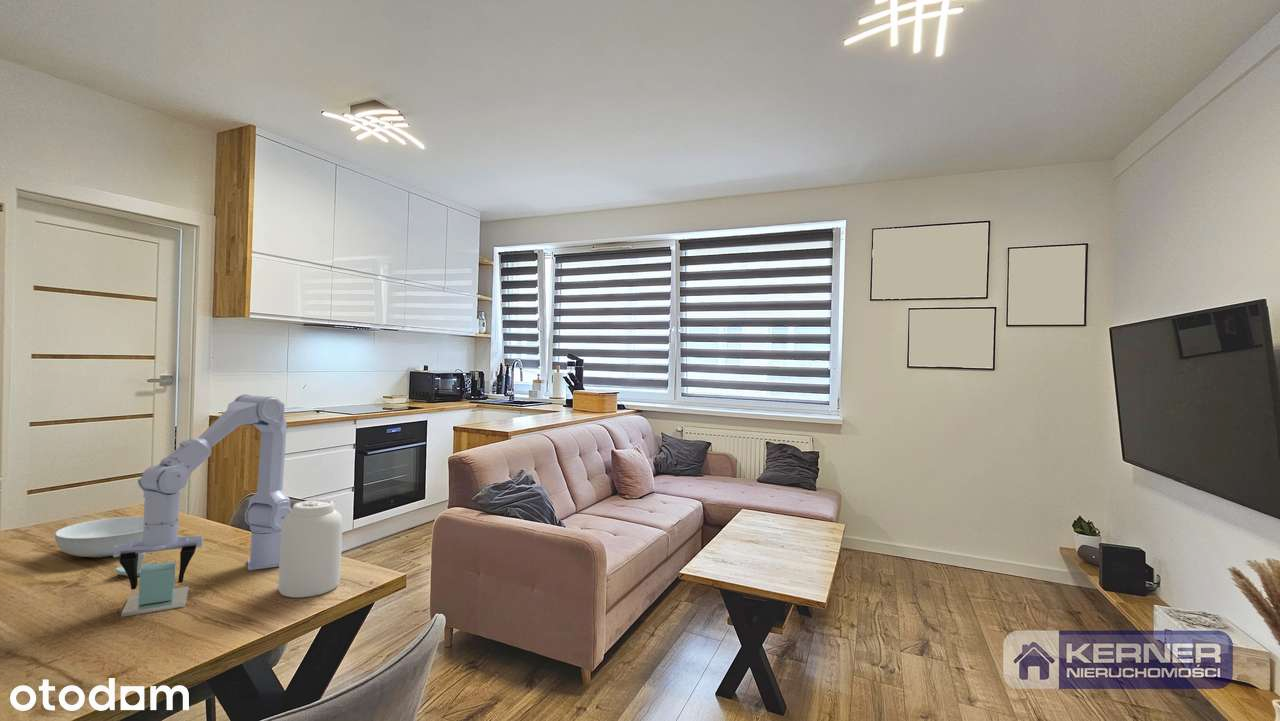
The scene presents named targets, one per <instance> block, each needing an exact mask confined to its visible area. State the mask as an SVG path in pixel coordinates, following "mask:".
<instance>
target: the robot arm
mask: <svg viewBox="0 0 1280 721" xmlns="http://www.w3.org/2000/svg"><path fill="white" fill-rule="evenodd" d="M251 424H252V426H254V427H255V428H256V429H258V430H259V431H260V444H259V445H260V446H259V456H258V457H259V460H258V473H257V475H258V476H257V484H256V486H257V488H256V493H254V494H253V495H252V496H251V497H250V498H249V500H248V506H247V508H246V510H245V513H244V521H245V523H246V524H247V525H249V530H251V531H250V532H251V533H250V554H249V558H248V560H247V571H256V570H263V569H269V568H277V567H279V563H280V543H281V526H282V524H283V521H284V519H285V518H286V517H287V516H288V515H289V514H290V513H292V507H291V499H290V497H289V496H288V495H287V494H286V493H285V492H284V491H283V489H284V488H283V486H284V485H283V484H284V471H285V456H286V443H287V442H286V440H287V428H288V427H287V426H288V423H287V419H286V417H285V403H283V402H282V401H281V400H280V399H279V398H277V397H276V396H272V395H271V396H269V395H268V396H263V395H262V396H261V395H250V394H241V395H238V396H237V397H236V398H235V399H234V400H232V401H231V402H230V403H228V405H227V409H226V410H225V411H224V412H223V413H222V414H221V415H220V416H219V417H218V418H216V420H215V421H214V422H213V423H212V424H211V425H209V427H207V429H206V430H205V431H203V432H202V434H201V435H200V436H198V437H197V438H188V439H186V440H182V441H181V442H180V443H178V447H177V448H176V449H175V450H173V451H172V453H170V454H169V455H167V457H164V458H162V459H161V460H160V462H159V464H154V465H151V466H149V467H147V468H146V469H145V470H144V471H143V473H142V474H141V475H140V478H138V479H137V484H138V487H139V488H140V489H141V490H142V491H143V498H144V501H143V502H144V506H143V517H144V521H143V541H140V542H134V543H129V544H122V545H116V546H115V547H114V551H113V556H112V558H117V557H119V564H120V565H121V567H123V568H124V570H125V571H126V573H127V575H128V577H127V578H128V580H129V583H130V584H129V585H130V590H132V591H133V590H136V589H137V587H138V576H137V564H138V554H139V553H145V554H146V553H152V552H153V553H155V552H163V551H168V550H170V551H171V550H178V549H180V554H179V559H180V560H179V574H178V579H177V580H178V582H177V583H178V584H180V583H184V578H185V573H186V570H187V568H188V565H189V564H190V561H191V560H192V557H193V556H194V554H195V552H196V549H197V548H202V547H203V542H204V541H203V538H204V536H203V535H201V536H200V535H198V536H178V530H179V510H180V506H179V505H180V491H181V490H182V489H184V488H185V487H186V485H187V483H188V479H189V477H190V476H191V475H192V473H193V472H194V471H195V470H196V469H198V467H200V465H202V464H203V463H204V462H206V460H207V459H209V457H211V454H212V448H213V447H214V446H216V444H218V443H219V442H220V441H221V440H223V439H224V438H226V437H227V436H228V435H229V434H231V433H232V432H233V431H234V430H236V429H237V428H238V427H240V426H242V425H243V426H245V425H251Z"/></svg>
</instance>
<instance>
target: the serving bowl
mask: <svg viewBox="0 0 1280 721" xmlns="http://www.w3.org/2000/svg"><path fill="white" fill-rule="evenodd" d="M143 521H144V516H121V517H119V516H118V517H109V518H102V519H95V520H88V521H83V522H79V523H75V524H72V525H68V526H67V525H66V526H65V527H62V528H60V529H58V530H57V531H55V533H54V538H55V543H56V545H57V547H58V548H59V549H60V550H61V551H63V552H64V553H66V554H67V555H70V556H71V555H72V556H76V557H88V558H107V557H108V558H109V557H113V551H114V547H115V546H116V545H122V544H129V543H134V542H140V541H143Z"/></svg>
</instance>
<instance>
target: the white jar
mask: <svg viewBox="0 0 1280 721" xmlns="http://www.w3.org/2000/svg"><path fill="white" fill-rule="evenodd" d="M335 506H336V505H335V504H334V501H332V500H329V499H309V500H305V501H300V502H297V503H294V504H293V506H292V507H291V509H292V513H290V514H289V515H288V516H287V517H286V518H285V519H284V521H283V524H282V526H281V543H280V563H279V566H278V567H279V570H278V583H277V584H278V589H277V590H278V592H279V593H280V595H282V596H284V597H287V598H309V597H316V596H320V595H323V594H326V593H328V592H331V591H332V590H335V589H336V588H337V587H339V584H340V581H341V569H342V568H341V565H342V564H341V563H342V544H343V520H344V519H343V516H342V514H341V513H340V512H339V511H338V510H336V509H335Z"/></svg>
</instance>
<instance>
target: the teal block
mask: <svg viewBox="0 0 1280 721" xmlns="http://www.w3.org/2000/svg"><path fill="white" fill-rule="evenodd" d="M176 563H177V562H176V561H174V560H173V561H169V562H168V561H167V562H159V563H158V562H157V564H151V565H144V564H143V565H144V566H143V568H142V570H141V572H140V575H139V585H138V586H139V587H138V588H139V590H138V594H139V603H138V605H143V604H150V603H156V602H162V601H169V600H172V598H173V594H174V589H175V588H176V587H175V584H176V583H175V582H176V567H177V566H176V565H177V564H176Z"/></svg>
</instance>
